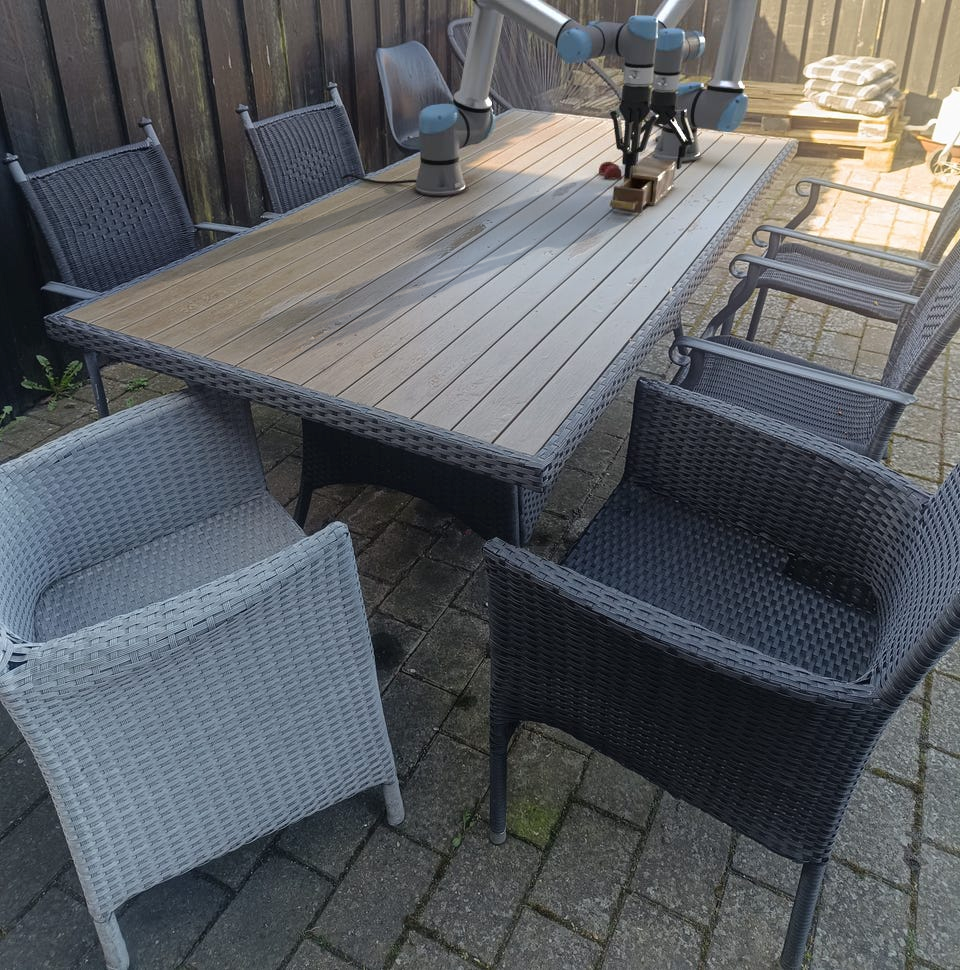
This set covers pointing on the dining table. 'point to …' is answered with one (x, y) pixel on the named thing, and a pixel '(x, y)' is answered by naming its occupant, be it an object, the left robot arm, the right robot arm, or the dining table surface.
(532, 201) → the dining table surface
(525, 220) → the dining table surface
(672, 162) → the cabinet
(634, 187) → the drawer
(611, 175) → the dental model
